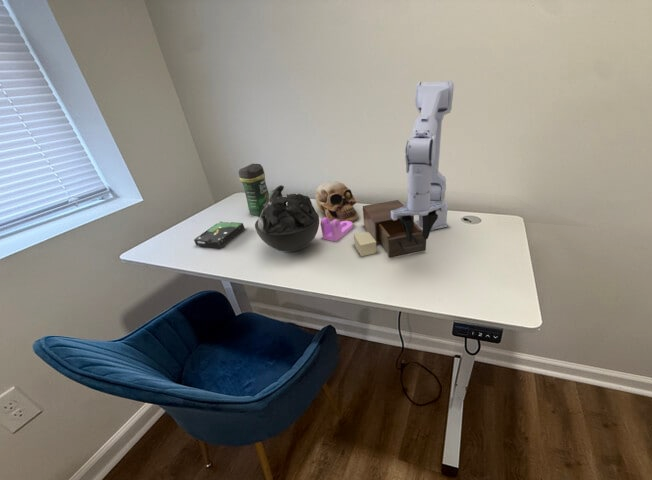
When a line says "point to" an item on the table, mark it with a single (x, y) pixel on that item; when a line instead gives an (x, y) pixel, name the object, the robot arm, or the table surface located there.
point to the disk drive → (219, 234)
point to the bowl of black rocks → (287, 221)
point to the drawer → (400, 239)
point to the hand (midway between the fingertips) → (417, 239)
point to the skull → (336, 201)
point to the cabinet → (379, 216)
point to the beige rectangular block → (365, 244)
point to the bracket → (334, 228)
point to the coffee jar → (254, 187)
